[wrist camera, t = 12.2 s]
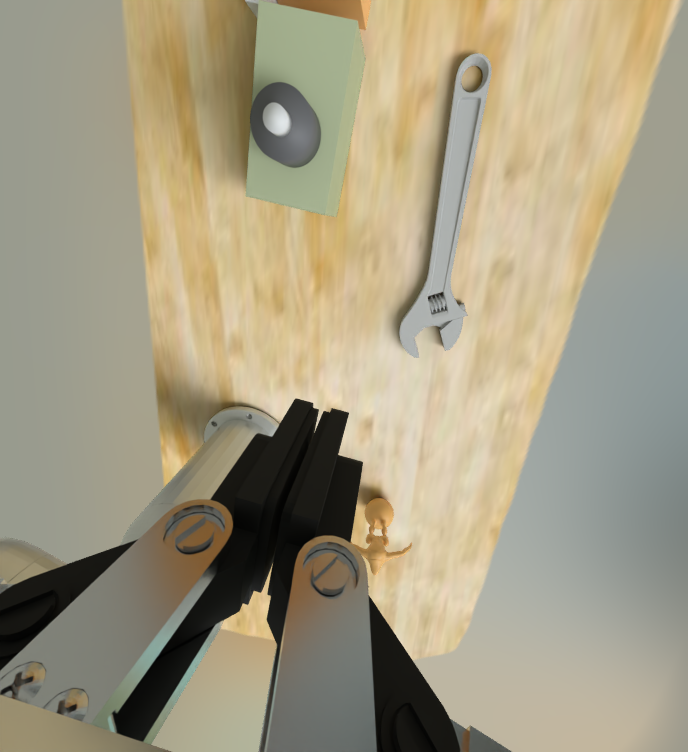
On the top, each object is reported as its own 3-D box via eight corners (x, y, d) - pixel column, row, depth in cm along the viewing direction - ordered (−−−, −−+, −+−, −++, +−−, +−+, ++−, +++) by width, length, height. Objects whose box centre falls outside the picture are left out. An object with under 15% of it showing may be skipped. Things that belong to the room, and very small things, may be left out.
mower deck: (361, 223, 32) (346, 221, 23) (253, 197, 32) (199, 185, 24) (426, -85, 23) (443, -276, 14) (276, -114, 23) (203, -314, 15)
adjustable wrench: (456, 61, 26) (459, 50, 25) (537, 69, 26) (546, 58, 24) (395, 347, 37) (395, 352, 35) (451, 356, 36) (454, 362, 35)
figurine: (351, 508, 48) (337, 589, 37) (352, 477, 46) (337, 554, 35) (407, 516, 47) (410, 602, 36) (411, 484, 44) (415, 566, 34)
